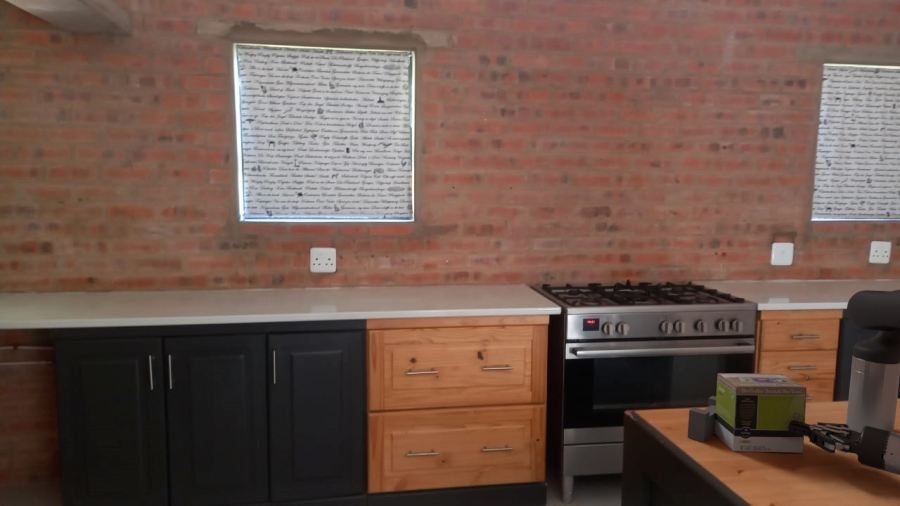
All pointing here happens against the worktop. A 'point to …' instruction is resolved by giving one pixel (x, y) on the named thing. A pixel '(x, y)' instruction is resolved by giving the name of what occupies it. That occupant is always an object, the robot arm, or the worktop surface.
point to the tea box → (759, 412)
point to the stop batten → (702, 421)
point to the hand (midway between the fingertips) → (789, 425)
